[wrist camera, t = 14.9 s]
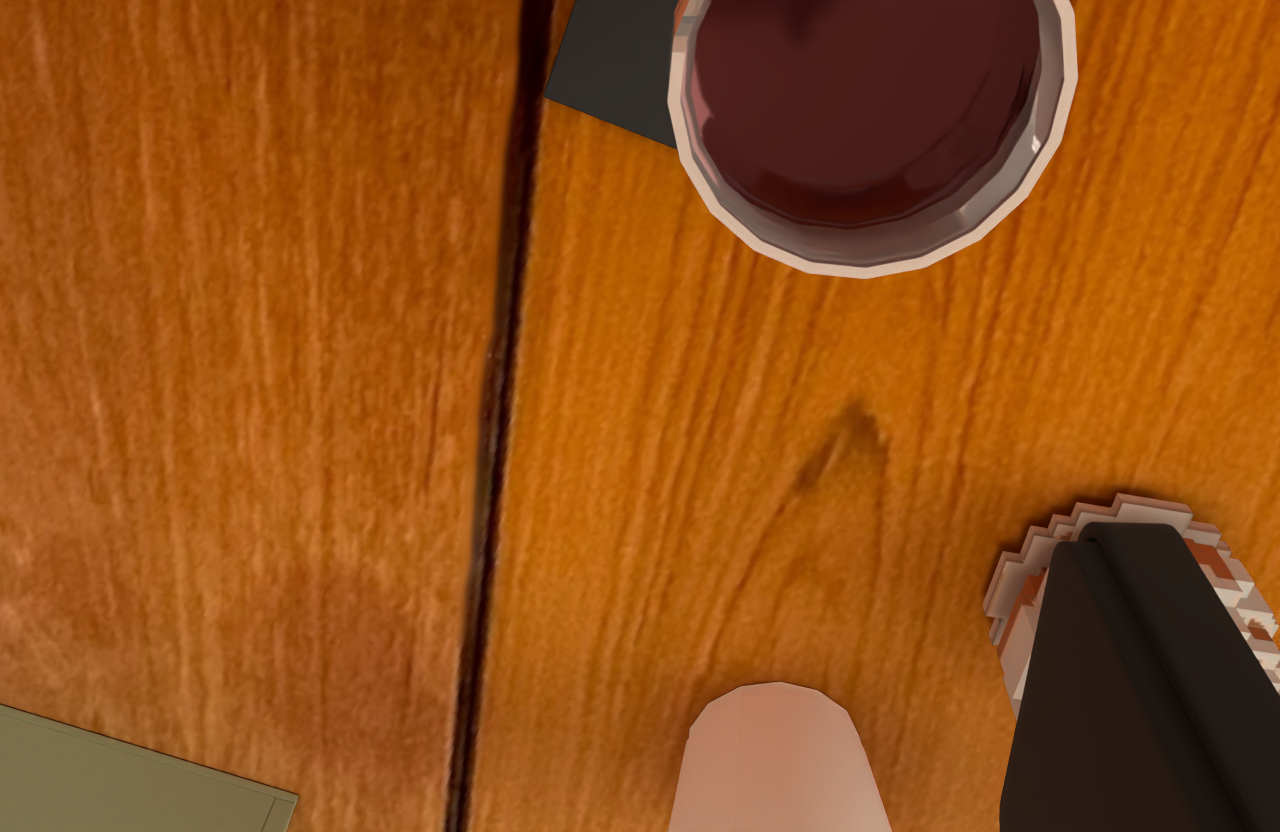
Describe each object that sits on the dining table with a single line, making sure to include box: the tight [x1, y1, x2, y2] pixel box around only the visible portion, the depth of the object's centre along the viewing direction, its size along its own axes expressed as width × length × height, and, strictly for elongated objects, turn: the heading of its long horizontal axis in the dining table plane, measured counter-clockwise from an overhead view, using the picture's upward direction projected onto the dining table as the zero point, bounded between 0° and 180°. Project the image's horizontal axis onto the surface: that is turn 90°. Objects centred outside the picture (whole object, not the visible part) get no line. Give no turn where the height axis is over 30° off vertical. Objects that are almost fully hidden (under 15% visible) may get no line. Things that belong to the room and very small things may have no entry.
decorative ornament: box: [982, 493, 1280, 721], centre depth 33 cm, size 8×8×15 cm
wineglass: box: [667, 0, 1078, 279], centre depth 25 cm, size 7×7×12 cm
